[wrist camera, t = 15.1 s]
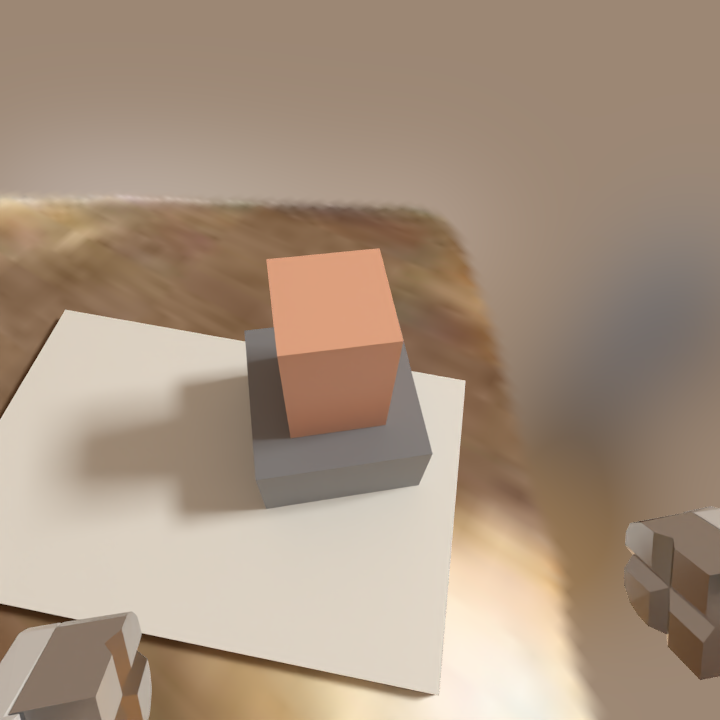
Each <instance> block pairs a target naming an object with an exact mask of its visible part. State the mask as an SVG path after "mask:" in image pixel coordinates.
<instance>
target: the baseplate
mask: <svg viewBox="0 0 720 720" xmlns="http://www.w3.org/2000/svg"><path fill="white" fill-rule="evenodd" d="M411 372H412V376H413V380H414V384H415V387H416V391H417V395H418V399H419V403H420V407H421V411H422V415H423V419H424V422H425V426H426V430H427V434H428V438H429V442H430V446H431V450H432V453H433V454H432V456H431V459H430V461H429V463H428V465H427V468H426V470H425V472H424V474H423V477H422V479H421V481H420V483H419V485H416V486H409V487H403V488H397V489H390V490H384V491H378V492H371V493H365V494H358V495H352V496H346V497H339V498H333V499H327V500H320V501H314V502H308V503H301V504H295V505H288V506H282V507H276V508H269V509H266V507H265V504H264V502H263V499H262V496H261V494H260V491H259V488H258V486H257V483H256V480H255V466H254V453H253V439H252V426H251V412H250V398H249V385H248V371H247V357H246V344H245V342H244V341H238V340H233V339H227V338H221V337H216V336H210V335H205V334H199V333H193V332H188V331H182V330H176V329H171V328H165V327H160V326H154V325H148V324H143V323H137V322H131V321H126V320H120V319H114V318H109V317H103V316H98V315H92V314H86V313H81V312H75V311H69V310H65V311H64V313H63V315H62V316H61V318H60V320H59V321H58V323H57V325H56V326H55V328H54V330H53V331H52V333H51V335H50V337H49V338H48V340H47V342H46V343H45V345H44V347H43V348H42V350H41V352H40V353H39V355H38V357H37V358H36V360H35V362H34V363H33V365H32V367H31V368H30V370H29V372H28V374H27V375H26V377H25V379H24V380H23V382H22V384H21V385H20V387H19V389H18V390H17V392H16V394H15V395H14V397H13V399H12V400H11V402H10V404H9V406H8V407H7V409H6V411H5V412H4V414H3V416H2V417H1V419H0V604H5V605H9V606H14V607H19V608H24V609H28V610H33V611H38V612H43V613H47V614H52V615H57V616H62V617H67V618H71V619H76V620H80V619H86V618H92V617H99V616H105V615H112V614H118V613H124V612H131V611H132V612H133V613H134V614H136V615H137V617H138V621H139V625H140V629H141V633H143V634H148V635H152V636H157V637H162V638H167V639H171V640H176V641H181V642H186V643H190V644H195V645H200V646H205V647H210V648H214V649H219V650H224V651H229V652H233V653H238V654H243V655H248V656H252V657H257V658H262V659H267V660H272V661H276V662H281V663H286V664H291V665H295V666H300V667H305V668H310V669H314V670H319V671H324V672H329V673H334V674H338V675H343V676H348V677H353V678H357V679H362V680H367V681H372V682H376V683H381V684H386V685H391V686H395V687H400V688H405V689H410V690H415V691H419V692H424V693H429V694H434V695H439V690H440V678H441V666H442V654H443V642H444V630H445V618H446V607H447V595H448V583H449V571H450V559H451V547H452V535H453V523H454V511H455V500H456V488H457V476H458V464H459V452H460V440H461V428H462V416H463V404H464V393H465V381H464V380H458V379H452V378H447V377H441V376H436V375H430V374H424V373H419V372H413V371H411Z"/></svg>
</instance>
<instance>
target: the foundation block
mask: <svg viewBox="0 0 720 720" xmlns="http://www.w3.org/2000/svg"><path fill="white" fill-rule="evenodd" d="M397 318H398V317H397ZM398 322H399V321H398ZM399 326H400V325H399ZM400 330H401V329H400ZM401 334H402V333H401ZM402 338H403V337H402ZM245 344H246V357H247V371H248V385H249V398H250V412H251V426H252V439H253V453H254V466H255V480H256V483H257V486H258V488H259V491H260V494H261V496H262V499H263V502H264V504H265V507H266V509H269V508H276V507H282V506H288V505H295V504H301V503H308V502H314V501H320V500H327V499H333V498H339V497H346V496H352V495H358V494H365V493H371V492H378V491H384V490H390V489H397V488H403V487H409V486H416V485H419V483H420V481H421V479H422V477H423V474H424V472H425V470H426V468H427V465H428V463H429V461H430V459H431V456H432V454H433V453H432V450H431V446H430V442H429V438H428V434H427V430H426V426H425V422H424V419H423V415H422V411H421V407H420V403H419V399H418V395H417V391H416V387H415V384H414V380H413V376H412V372H411V368H410V364H409V360H408V356H407V352H406V349H405V345H404V341H403V345H402V350H401V355H400V360H399V364H398V369H397V374H396V379H395V383H394V388H393V393H392V397H391V402H390V407H389V412H388V416H387V421H386V425H382V426H374V427H367V428H360V429H353V430H346V431H339V432H332V433H325V434H318V435H311V436H304V437H297V438H291V437H290V431H289V425H288V419H287V413H286V407H285V401H284V395H283V389H282V383H281V377H280V371H279V365H278V358H277V350H276V341H275V332H274V328H265V329H256V330H247V331H245Z"/></svg>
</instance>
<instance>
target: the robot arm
mask: <svg viewBox="0 0 720 720" xmlns="http://www.w3.org/2000/svg"><path fill="white" fill-rule="evenodd" d="M625 545H626V546H627V548H628V549H629V550H630V551H631V553H632V554H633V556H632V557H631V559H630V560H629V562H628V563H627V565H626V566H625V568H624V586H625V588H626V592H627V595H628V598H629V601H630V603H631V605H632V606H633V608H634V609H635V611H636V613H637V614H638V616H640V618H641V619H642V620H643V621H644V622H645V623H646V624H647V625H648V626H650V627H652V628H654V629H656V630H658V631H661V632H663V633H665V634H667V643H668V647H669V648H670V649H671V650H672V651H673V652H674V653H675V654H676V655H677V656H678V658H680V660H681V661H682V662H683V663H684V664H685V665H686V666H687V667H688V668H689V669H690V670H691V671H692V672H693V673H694V674H695V675H696V676H697V677H698V678H699V679H700V680H703V679H708V678H713V677H718V676H720V508H715V507H705V508H701V509H696V510H691V511H687V512H684V513H682V514H676V515H671V516H665V517H660V518H655V519H649V520H644V521H639V522H634V523H630V525H629V527H628V529H627V531H626V543H625ZM141 635H142V633H141V629H140V625H139V621H138V617H137V615H136V614H134V613H133V612H132V611H131V612H124V613H118V614H112V615H105V616H99V617H92V618H86V619H80V620H73V621H67V622H63V623H55V624H49V625H44V626H38V627H32V628H28V629H26V630H24V631H23V632H21V633H19V635H18V636H17V637H16V639H15V640H14V642H13V644H12V645H11V647H10V648H9V650H8V651H7V653H6V655H5V656H4V658H3V659H2V661H1V662H0V720H148V718H149V714H150V704H151V691H152V688H151V675H150V669H149V664H148V659H147V658H146V657H144V656H143V655H142V654H140V653H139V652H138V651H137V648H138V645H139V642H140V639H141Z"/></svg>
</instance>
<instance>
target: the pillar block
mask: <svg viewBox="0 0 720 720" xmlns="http://www.w3.org/2000/svg"><path fill="white" fill-rule="evenodd" d="M267 268H268V277H269V286H270V295H271V305H272V314H273V323H274V332H275V341H276V350H277V358H278V365H279V371H280V377H281V383H282V389H283V395H284V401H285V407H286V413H287V419H288V425H289V431H290V437H291V438H297V437H304V436H311V435H318V434H325V433H332V432H339V431H346V430H353V429H360V428H367V427H374V426H382V425H386V421H387V416H388V412H389V407H390V402H391V397H392V393H393V388H394V383H395V379H396V374H397V369H398V364H399V360H400V355H401V350H402V345H403V338H402V334H401V330H400V326H399V322H398V318H397V314H396V310H395V307H394V303H393V299H392V295H391V291H390V287H389V283H388V279H387V276H386V272H385V268H384V264H383V260H382V256H381V252H380V248H379V249H369V250H358V251H348V252H338V253H327V254H317V255H307V256H297V257H286V258H276V259H267Z"/></svg>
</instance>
